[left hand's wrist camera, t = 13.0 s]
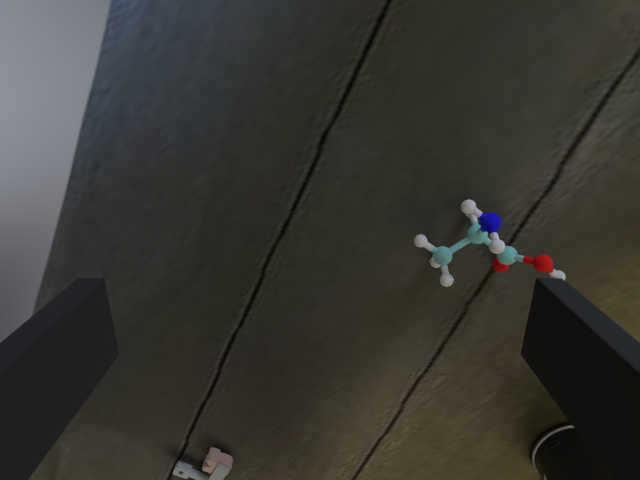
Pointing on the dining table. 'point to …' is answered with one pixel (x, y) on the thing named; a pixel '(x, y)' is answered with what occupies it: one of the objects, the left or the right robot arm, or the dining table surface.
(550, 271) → the molecular model
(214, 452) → the clamp
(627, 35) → the dining table surface
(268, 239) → the dining table surface
